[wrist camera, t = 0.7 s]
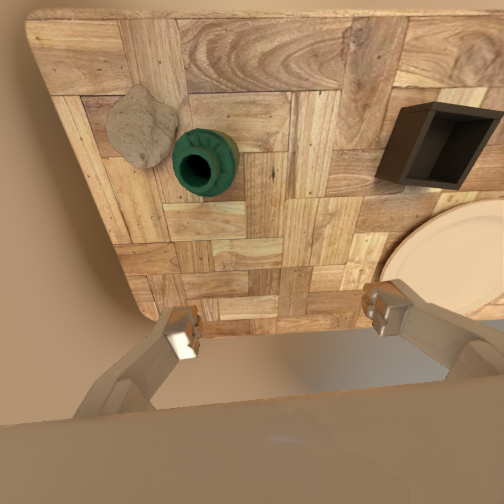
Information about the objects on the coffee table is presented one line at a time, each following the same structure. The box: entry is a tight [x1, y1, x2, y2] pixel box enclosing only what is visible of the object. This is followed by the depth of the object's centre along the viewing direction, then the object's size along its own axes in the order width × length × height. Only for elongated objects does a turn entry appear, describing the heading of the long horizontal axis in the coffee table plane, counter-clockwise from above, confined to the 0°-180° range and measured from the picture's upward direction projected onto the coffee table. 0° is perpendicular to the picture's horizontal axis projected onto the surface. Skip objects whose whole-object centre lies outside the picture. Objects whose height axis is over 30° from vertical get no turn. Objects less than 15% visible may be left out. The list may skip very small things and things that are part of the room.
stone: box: [106, 85, 178, 169], centre depth 26 cm, size 10×5×10 cm
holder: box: [375, 102, 504, 190], centre depth 28 cm, size 9×9×6 cm
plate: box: [379, 199, 504, 315], centre depth 40 cm, size 28×28×2 cm
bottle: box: [172, 128, 239, 197], centre depth 23 cm, size 6×6×16 cm
